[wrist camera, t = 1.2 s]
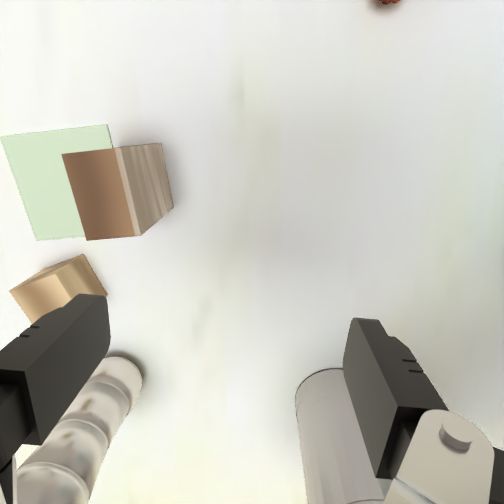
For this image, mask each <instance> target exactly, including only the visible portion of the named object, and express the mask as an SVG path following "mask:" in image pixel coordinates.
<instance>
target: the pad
mask: <svg viewBox="0 0 504 504" xmlns="http://www.w3.org/2000/svg"><path fill="white" fill-rule="evenodd" d="M0 139H1V142H2V145H3V148H4V150H5V153H6V156H7V159H8V162H9V165H10V167H11V170H12V173H13V176H14V179H15V182H16V184H17V187H18V190H19V193H20V196H21V199H22V201H23V204H24V207H25V210H26V213H27V216H28V218H29V221H30V224H31V227H32V230H33V233H34V236H35V238H36V241H40V240H51V239H62V238H73V237H84V236H85V233H84V230H83V227H82V223H81V220H80V216H79V213H78V210H77V206H76V203H75V199H74V196H73V193H72V189H71V186H70V182H69V179H68V176H67V172H66V169H65V165H64V162H63V159H62V155H61V154H65V153H74V152H83V151H91V150H100V149H109V148H113V147H112V142H111V138H110V134H109V130H108V126H107V125H98V126H89V127H81V128H72V129H63V130H54V131H46V132H37V133H28V134H19V135H10V136H2V137H0Z"/></svg>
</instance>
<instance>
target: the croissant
mask: <svg viewBox="0 0 504 504" xmlns="http://www.w3.org/2000/svg"><path fill="white" fill-rule="evenodd" d="M379 1H382V3H383V4H388V3H390V2H392V3H396V2H398V1H400V0H379Z"/></svg>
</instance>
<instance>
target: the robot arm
mask: <svg viewBox="0 0 504 504" xmlns="http://www.w3.org/2000/svg"><path fill="white" fill-rule="evenodd" d="M110 338H111V336H110V325H109V315H108V305H107V300H106V297H105V296H103V295H93V294H82V293H80V294H77V295H76V296H75V297H74V298H73V299H71V300H70V301H69V302H68V303H67V304H66V305H65V306H63V307H59V308H57V309H55V310H53V311H51V312H49V313H47V314H45V315H43V316H41V317H40V318H39V319H38V320H37V321H35V322H34V323H33V324H32V325H31V326H30V328H27V329H26V330H25V331H23V332H22V333H21V334H20V336H19V337H16V338H15V339H14V340H13V341H11V342H10V343H9V344H8V345H7V346H5V347H4V348H3V349H2V350H1V351H0V504H17V477H16V459H15V455H14V454H15V453H16V451H17V450H18V449H19V447H20V446H21V445H22V444H29V445H40V446H42V444H43V443H44V441H45V440H46V438H47V437H48V436H49V434H50V433H51V431H52V430H53V429H54V427H55V426H56V424H57V423H58V422H59V420H60V419H61V417H62V416H63V415H64V413H65V412H66V410H67V409H68V408H69V406H70V405H71V403H72V402H73V400H74V399H75V398H76V396H77V395H78V393H79V392H80V391H81V389H82V388H83V386H84V385H85V384H86V382H87V381H88V379H89V378H90V377H91V375H92V374H93V372H94V371H95V369H96V368H97V367H98V365H99V364H100V362H101V361H102V360H103V358H104V357H105V355H106V354H107V351H108V349H109V345H110ZM416 361H417V360H416V359H415V357H414V356H413V354H412V353H411V351H410V350H409V348H408V347H407V346H405V345H404V344H403V343H402V342H401V341H399V340H398V339H397V338H396V337H390V336H388V335H387V333H386V331H385V330H384V328H383V326H382V325H381V323H380V321H379V320H376V319H365V318H353V319H352V321H351V324H350V329H349V333H348V338H347V343H346V347H345V352H344V357H343V370H341V369H330V370H325V371H321V372H318V373H316V374H313V375H312V376H310V377H309V378H307V379H306V380H305V381H304V382H303V383H302V384H301V386H300V387H299V389H298V391H297V393H296V398H295V404H296V416H297V421H298V429H299V438H300V446H301V454H302V462H303V470H304V478H305V487H306V495H307V503H308V504H504V451H503V450H500V449H497V448H495V447H492V445H491V443H490V441H489V440H488V438H487V437H486V436H485V434H484V433H483V432H482V431H481V430H480V429H479V428H478V427H476V426H475V425H474V424H473V423H471V422H470V421H468V420H467V419H465V418H463V417H461V416H459V415H457V414H455V413H452V412H449V410H448V408H447V407H446V405H445V404H444V402H443V401H442V399H441V398H440V396H439V395H438V393H437V391H436V390H435V388H434V387H433V385H432V384H431V382H430V381H429V379H428V377H427V376H426V374H424V373H423V370H422V368H421V367H420V365H419V363H417V362H416Z"/></svg>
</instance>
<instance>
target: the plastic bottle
mask: <svg viewBox="0 0 504 504" xmlns="http://www.w3.org/2000/svg"><path fill="white" fill-rule="evenodd" d="M141 387H142V377H141V374H140V372H139V370H138V368H137V367H136V365H135V364H134V363H133V362H131V361H130V360H128V359H126V358H123V357H116V356H114V357H108V358H104V359H103V360H102V361H101V362H100V364H99V365H98V367H97V368H96V369H95V371H94V372H93V374H92V375H91V377H90V378H89V379H88V381H87V382H86V384H85V385H84V386H83V388H82V389H81V391H80V392H79V393H78V395H77V396H76V398H75V399H74V400H73V402H72V403H71V405H70V406H69V408H68V409H67V410H66V412H65V413H64V415H63V416H62V418H61V419H60V420H59V422H58V423H57V424H56V426H55V427H54V429H53V430H52V431H51V433H50V434H49V436H48V437H47V438H46V440H45V441H44V443H43V444H42V446H40V445H39V447H38V448H37V449H36V450H35V451H34V452H33V453H32V454H31V455H30V456H29V457H28V459H27V460H26V461H25V462H24V463H23V464H22V465H21V466H20V467H19V468H18V470H17V471H16V477H17V504H88V501H89V499H90V496H91V493H92V490H93V487H94V484H95V481H96V478H97V475H98V472H99V469H100V466H101V464H102V462H103V459H104V457H105V455H106V452H107V450H108V448H109V445H110V443H111V441H112V439H113V437H114V436H115V434H116V432H117V430H118V429H119V427H120V425H121V424H122V422H123V420H124V419H125V417H126V416H127V415H128V414H129V412H130V411H131V410H132V408H133V407H134V405H135V404H136V402H137V400H138V398H139V396H140V392H141Z"/></svg>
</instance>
